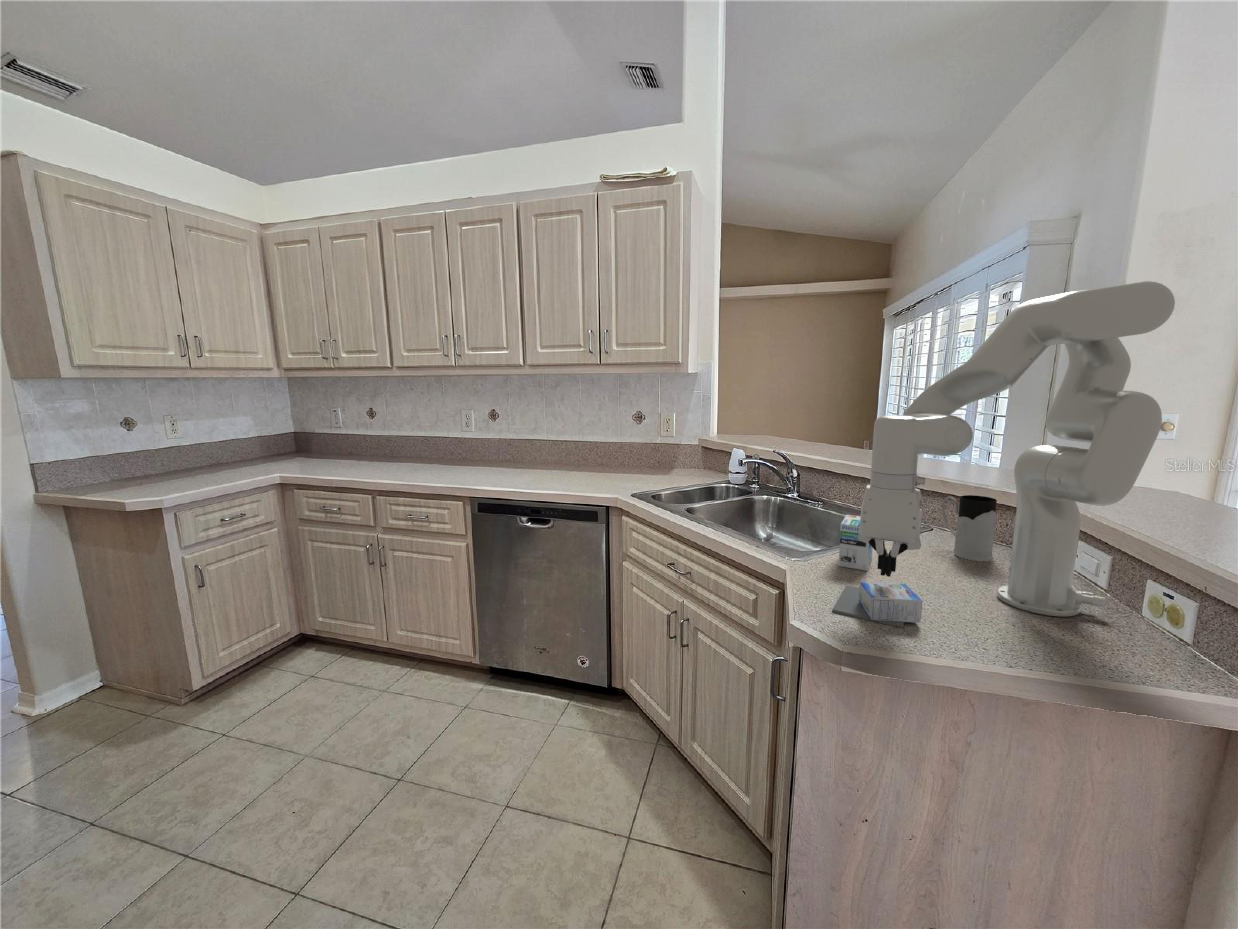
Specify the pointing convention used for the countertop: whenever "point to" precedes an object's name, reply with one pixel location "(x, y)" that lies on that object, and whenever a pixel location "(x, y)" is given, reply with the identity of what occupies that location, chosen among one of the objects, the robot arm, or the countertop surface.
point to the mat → (856, 606)
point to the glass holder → (974, 527)
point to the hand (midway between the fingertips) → (886, 573)
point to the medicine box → (890, 602)
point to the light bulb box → (853, 545)
